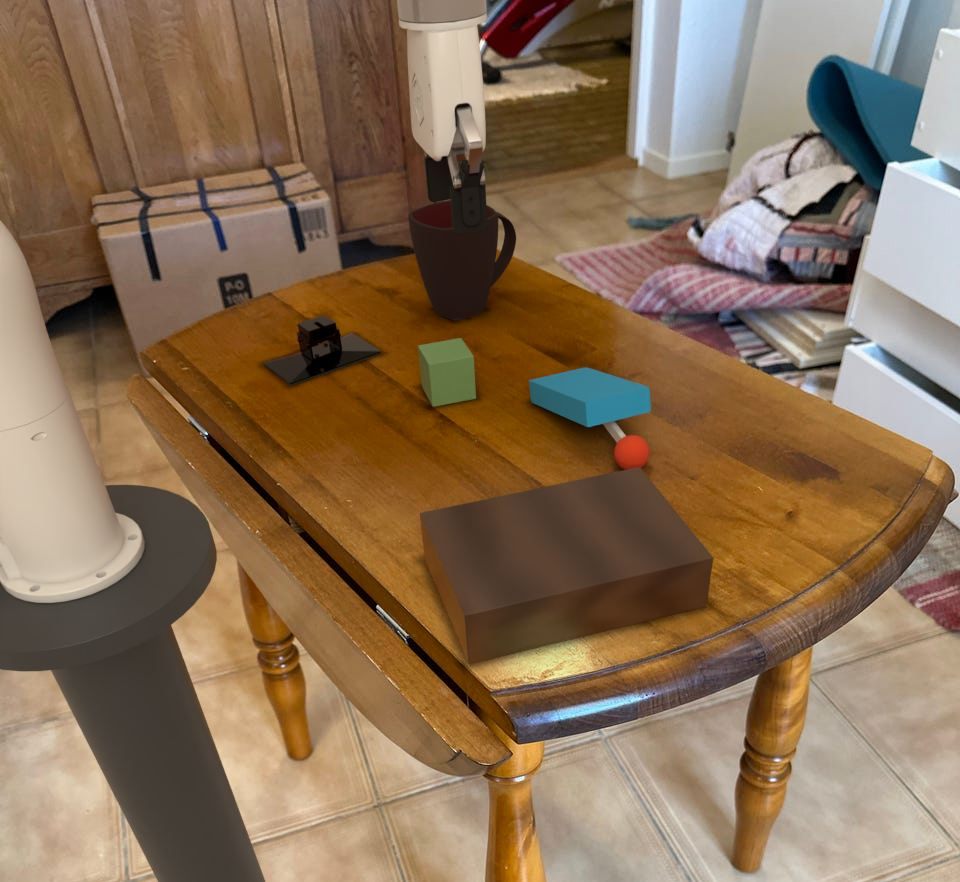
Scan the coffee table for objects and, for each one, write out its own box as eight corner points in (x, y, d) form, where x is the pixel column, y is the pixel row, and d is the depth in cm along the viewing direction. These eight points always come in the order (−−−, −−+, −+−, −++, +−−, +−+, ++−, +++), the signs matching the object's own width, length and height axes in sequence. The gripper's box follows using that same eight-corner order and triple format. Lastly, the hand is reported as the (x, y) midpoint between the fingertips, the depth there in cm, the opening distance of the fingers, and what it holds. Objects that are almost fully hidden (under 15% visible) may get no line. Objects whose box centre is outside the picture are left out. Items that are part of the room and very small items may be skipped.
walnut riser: (468, 664, 71) (464, 615, 68) (424, 560, 81) (419, 512, 78) (706, 607, 75) (713, 557, 71) (636, 513, 85) (639, 466, 81)
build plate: (290, 387, 107) (282, 349, 104) (262, 365, 112) (254, 328, 109) (381, 353, 112) (376, 316, 109) (351, 334, 117) (345, 298, 113)
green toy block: (432, 407, 102) (428, 364, 98) (421, 387, 105) (417, 345, 102) (476, 398, 102) (473, 356, 99) (464, 379, 106) (461, 337, 103)
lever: (536, 443, 103) (609, 482, 88) (528, 380, 100) (602, 409, 85) (592, 429, 105) (673, 465, 89) (586, 367, 102) (669, 393, 86)
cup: (406, 309, 121) (396, 213, 113) (491, 281, 127) (487, 187, 119) (449, 333, 115) (441, 233, 107) (536, 302, 121) (535, 205, 113)
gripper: (377, -8, 83) (399, 194, 95) (422, 23, 71) (441, 251, 83) (458, -17, 85) (470, 183, 96) (515, 12, 72) (521, 237, 84)
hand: (456, 214), depth 89 cm, fingers open, 9 cm apart
